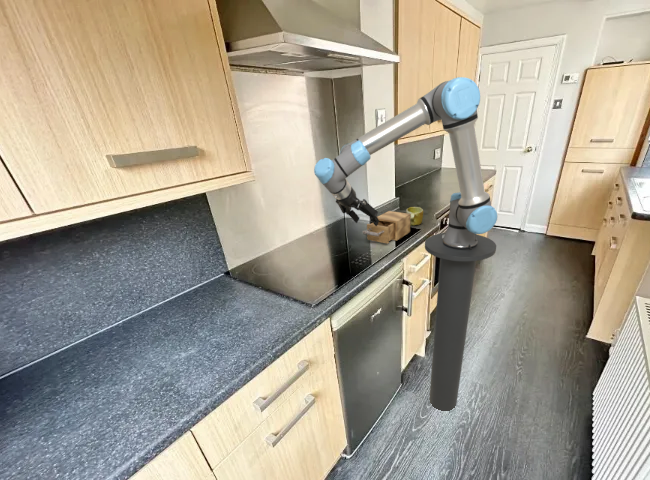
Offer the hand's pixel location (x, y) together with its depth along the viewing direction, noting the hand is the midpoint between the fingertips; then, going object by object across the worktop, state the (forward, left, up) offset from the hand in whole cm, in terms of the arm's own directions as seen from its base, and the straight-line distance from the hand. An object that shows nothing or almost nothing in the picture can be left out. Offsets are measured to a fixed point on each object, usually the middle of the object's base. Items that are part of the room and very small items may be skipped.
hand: (367, 221), depth 139 cm
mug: (+26, -34, -13) cm, 45 cm away
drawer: (+7, -9, -12) cm, 17 cm away
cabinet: (+15, -18, -13) cm, 26 cm away
